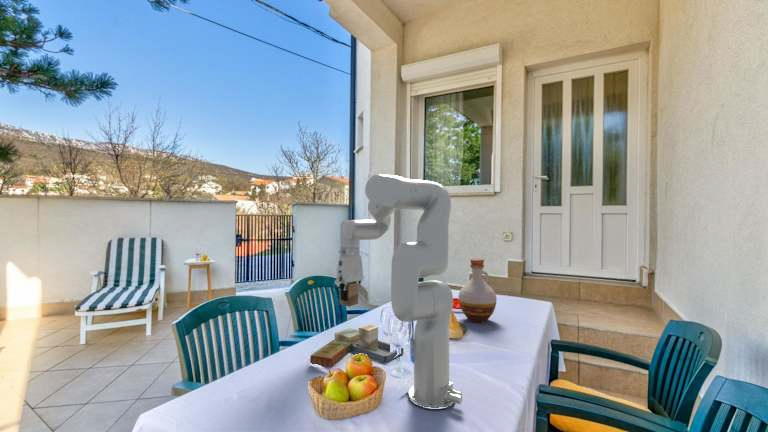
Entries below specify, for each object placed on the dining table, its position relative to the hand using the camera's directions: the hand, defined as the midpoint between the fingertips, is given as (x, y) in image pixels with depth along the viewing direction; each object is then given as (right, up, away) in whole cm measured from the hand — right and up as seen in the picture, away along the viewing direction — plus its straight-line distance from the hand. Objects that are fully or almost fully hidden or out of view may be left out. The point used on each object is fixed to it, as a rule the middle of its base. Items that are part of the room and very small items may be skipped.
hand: (349, 298), depth 127 cm
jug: (+60, -19, +33) cm, 71 cm away
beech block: (+8, -17, -7) cm, 20 cm away
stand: (0, -18, 0) cm, 18 cm away
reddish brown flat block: (-4, -18, -13) cm, 23 cm away
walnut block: (0, -2, 0) cm, 2 cm away
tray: (+11, -18, -9) cm, 23 cm away
